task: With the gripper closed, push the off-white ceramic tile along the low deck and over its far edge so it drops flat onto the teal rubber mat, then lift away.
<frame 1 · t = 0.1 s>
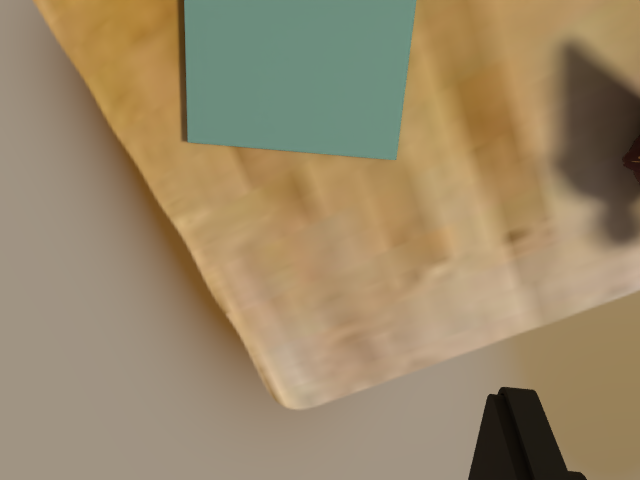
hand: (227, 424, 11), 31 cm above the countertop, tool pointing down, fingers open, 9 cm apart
mat: (296, 57, 39), on the countertop
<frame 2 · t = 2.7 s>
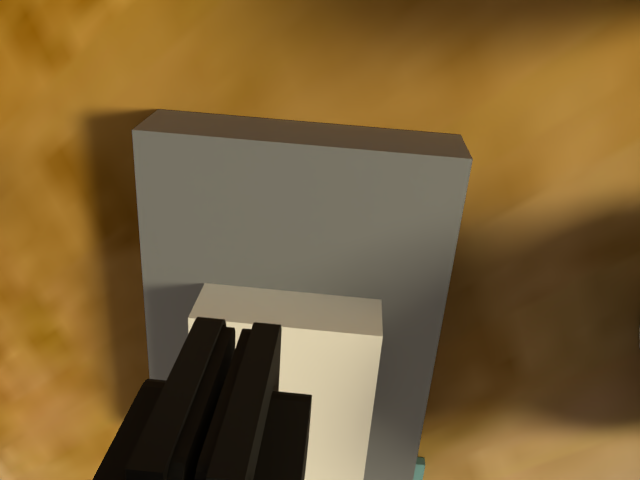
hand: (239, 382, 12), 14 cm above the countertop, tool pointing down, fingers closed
deck: (297, 295, 27), on the countertop
tile: (288, 372, 26), point 3 cm above the countertop, touching deck
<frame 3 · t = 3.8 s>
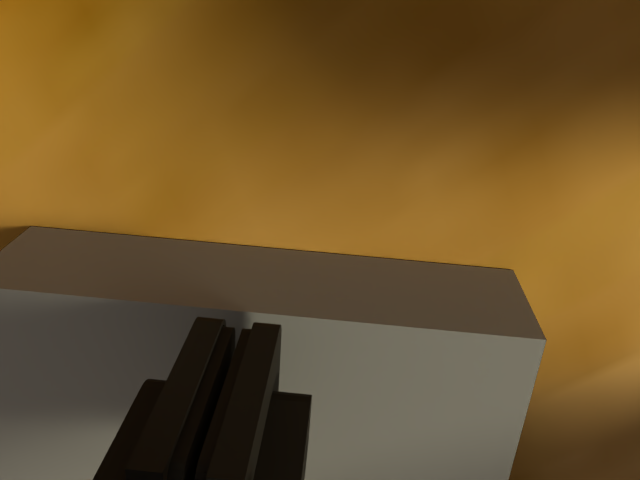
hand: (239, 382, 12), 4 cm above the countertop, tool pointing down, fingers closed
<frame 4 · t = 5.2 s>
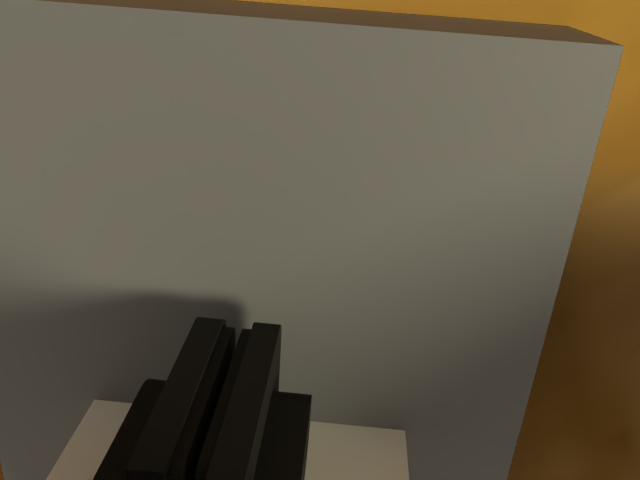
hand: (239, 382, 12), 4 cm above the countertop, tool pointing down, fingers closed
deck: (267, 325, 16), on the countertop
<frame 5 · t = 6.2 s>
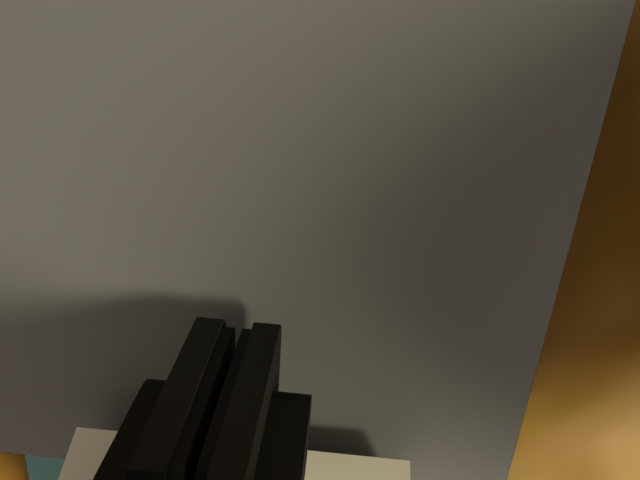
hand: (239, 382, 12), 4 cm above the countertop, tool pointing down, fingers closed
deck: (274, 112, 14), on the countertop
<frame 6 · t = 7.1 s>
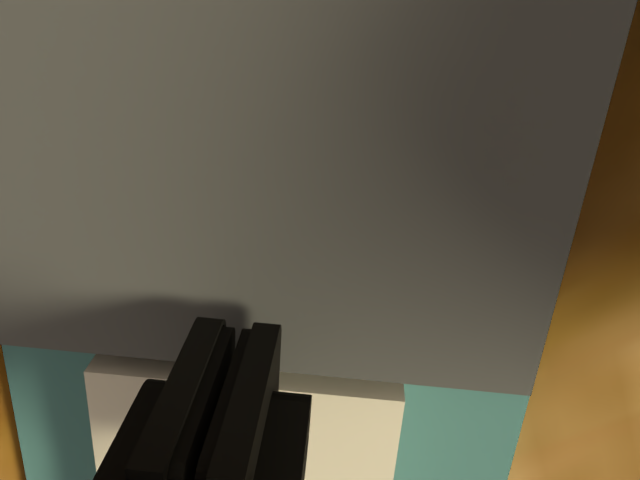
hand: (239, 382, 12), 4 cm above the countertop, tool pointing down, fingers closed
tile: (257, 444, 17), resting on mat
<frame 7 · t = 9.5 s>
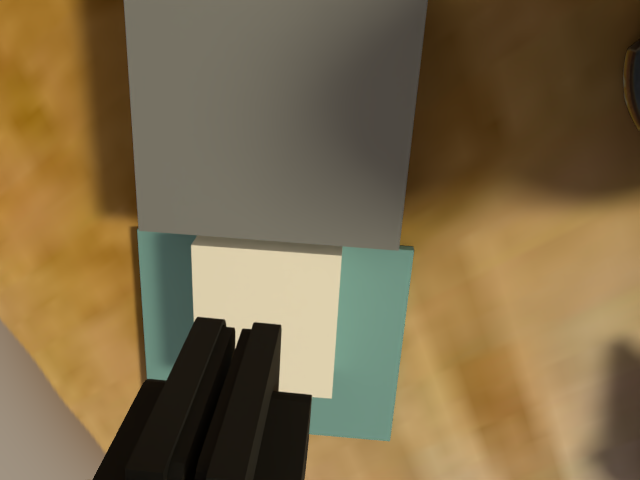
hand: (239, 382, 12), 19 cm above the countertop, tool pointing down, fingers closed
mat: (272, 337, 33), on the countertop
deck: (281, 52, 28), on the countertop
tile: (271, 301, 32), resting on mat
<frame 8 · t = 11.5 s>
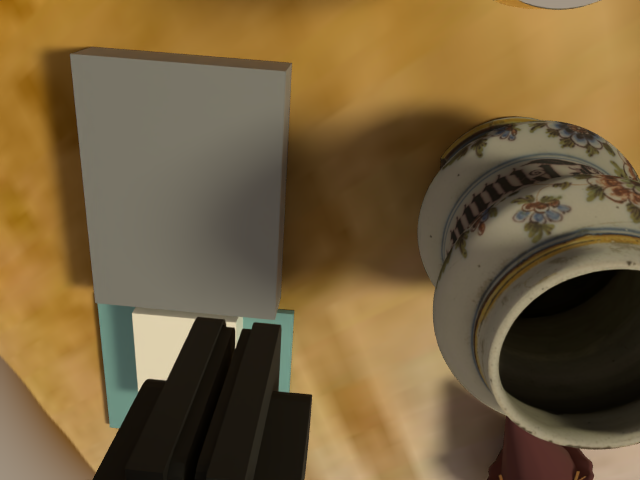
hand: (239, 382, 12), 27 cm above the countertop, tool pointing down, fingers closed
mat: (197, 370, 46), on the countertop
deck: (194, 182, 39), on the countertop
tile: (194, 346, 44), resting on mat
apothecary jar: (505, 193, 39), on the countertop
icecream: (528, 443, 47), on the countertop
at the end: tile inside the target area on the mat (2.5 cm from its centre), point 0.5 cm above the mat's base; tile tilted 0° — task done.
